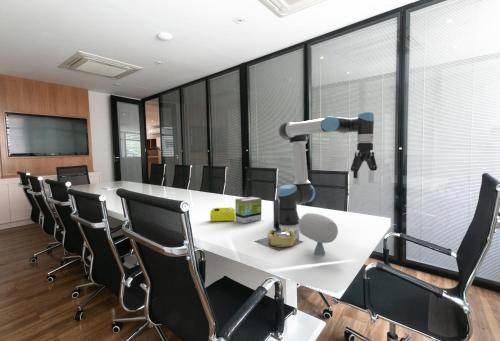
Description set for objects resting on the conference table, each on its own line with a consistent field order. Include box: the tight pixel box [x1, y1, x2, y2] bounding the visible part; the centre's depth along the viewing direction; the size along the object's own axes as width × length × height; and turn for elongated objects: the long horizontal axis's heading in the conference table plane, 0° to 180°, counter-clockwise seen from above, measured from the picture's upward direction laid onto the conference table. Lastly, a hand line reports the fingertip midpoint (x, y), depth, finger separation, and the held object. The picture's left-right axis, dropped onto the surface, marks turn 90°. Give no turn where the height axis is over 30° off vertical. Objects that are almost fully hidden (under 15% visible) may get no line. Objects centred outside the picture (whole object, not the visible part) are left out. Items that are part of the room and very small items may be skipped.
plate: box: [253, 229, 304, 252], centre depth 124 cm, size 17×18×6 cm
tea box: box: [234, 196, 262, 224], centre depth 168 cm, size 15×10×15 cm, turn 131°
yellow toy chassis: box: [209, 207, 235, 222], centre depth 169 cm, size 16×6×8 cm, turn 93°
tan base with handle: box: [267, 198, 296, 247], centre depth 124 cm, size 16×13×19 cm
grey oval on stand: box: [298, 212, 339, 256], centre depth 111 cm, size 15×20×18 cm
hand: (363, 183), depth 133 cm, fingers open, 13 cm apart
